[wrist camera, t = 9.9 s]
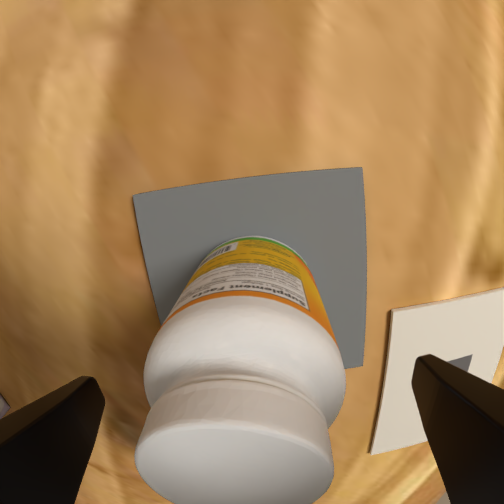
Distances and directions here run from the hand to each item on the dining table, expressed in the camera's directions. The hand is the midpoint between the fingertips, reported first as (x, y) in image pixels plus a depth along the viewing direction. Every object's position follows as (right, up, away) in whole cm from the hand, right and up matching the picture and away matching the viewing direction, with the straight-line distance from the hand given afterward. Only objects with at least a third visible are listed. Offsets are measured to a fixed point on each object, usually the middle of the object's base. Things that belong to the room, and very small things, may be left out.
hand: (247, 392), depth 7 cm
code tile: (+12, -5, +8) cm, 15 cm away
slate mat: (0, +2, +7) cm, 7 cm away
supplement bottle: (0, +2, +7) cm, 7 cm away
